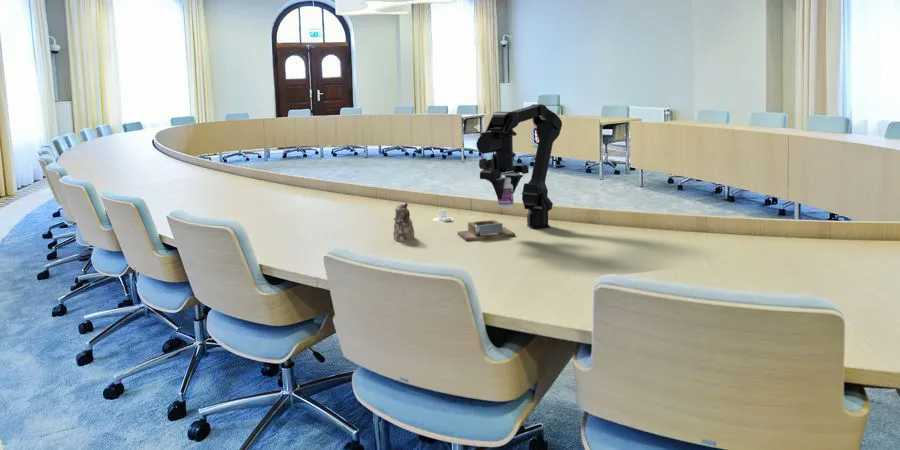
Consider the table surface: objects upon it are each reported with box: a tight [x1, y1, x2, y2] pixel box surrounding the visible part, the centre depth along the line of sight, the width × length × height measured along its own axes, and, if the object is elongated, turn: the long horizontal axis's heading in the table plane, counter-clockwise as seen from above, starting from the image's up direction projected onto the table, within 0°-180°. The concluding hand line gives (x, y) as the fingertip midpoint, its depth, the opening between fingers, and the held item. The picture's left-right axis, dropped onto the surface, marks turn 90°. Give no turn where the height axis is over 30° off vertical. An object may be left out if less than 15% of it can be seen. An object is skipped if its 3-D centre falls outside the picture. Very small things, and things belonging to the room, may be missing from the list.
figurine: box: [392, 202, 415, 242], centre depth 232 cm, size 7×7×12 cm
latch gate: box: [475, 222, 503, 235], centre depth 229 cm, size 9×2×3 cm, turn 105°
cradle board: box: [457, 219, 516, 242], centre depth 233 cm, size 17×11×4 cm, turn 104°
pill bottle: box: [496, 176, 514, 209], centre depth 228 cm, size 5×5×10 cm
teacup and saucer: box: [432, 209, 454, 223], centre depth 262 cm, size 9×8×4 cm
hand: (505, 197), depth 228 cm, fingers closed on pill bottle, 5 cm apart
